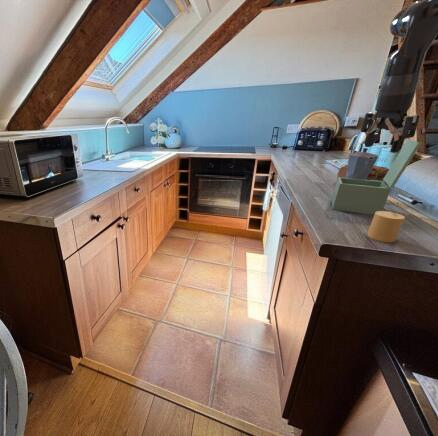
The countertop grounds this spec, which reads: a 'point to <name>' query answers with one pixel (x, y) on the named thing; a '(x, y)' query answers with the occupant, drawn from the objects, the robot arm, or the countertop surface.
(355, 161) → the moka pot
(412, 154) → the bin lid
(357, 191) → the bin
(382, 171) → the bread
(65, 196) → the countertop surface
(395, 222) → the tan cylinder
